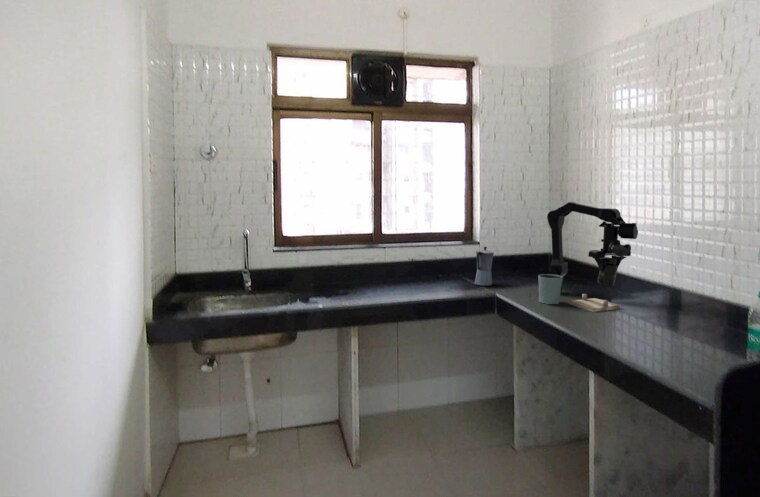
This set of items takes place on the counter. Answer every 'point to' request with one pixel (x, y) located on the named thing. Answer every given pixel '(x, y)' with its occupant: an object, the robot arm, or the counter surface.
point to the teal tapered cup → (549, 288)
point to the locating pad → (594, 304)
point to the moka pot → (484, 267)
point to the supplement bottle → (608, 272)
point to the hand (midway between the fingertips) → (608, 272)
